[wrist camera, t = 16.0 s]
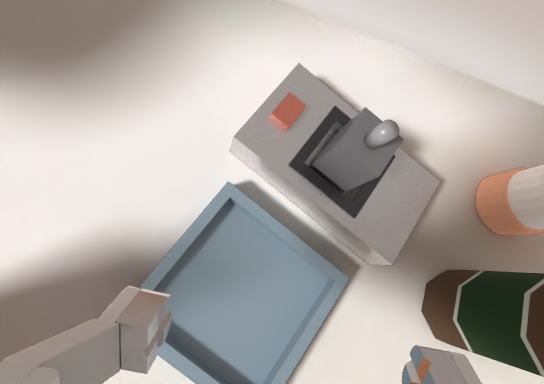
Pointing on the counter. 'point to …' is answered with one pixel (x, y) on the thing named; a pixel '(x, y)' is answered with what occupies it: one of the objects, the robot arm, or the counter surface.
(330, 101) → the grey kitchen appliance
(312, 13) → the counter surface
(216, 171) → the counter surface
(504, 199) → the pepper shaker
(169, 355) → the tray
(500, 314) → the beer bottle
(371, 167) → the plug
